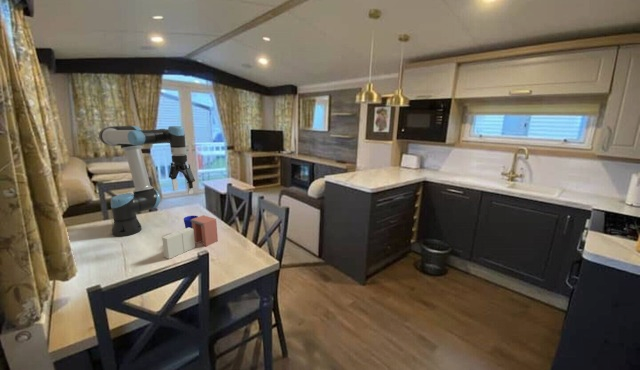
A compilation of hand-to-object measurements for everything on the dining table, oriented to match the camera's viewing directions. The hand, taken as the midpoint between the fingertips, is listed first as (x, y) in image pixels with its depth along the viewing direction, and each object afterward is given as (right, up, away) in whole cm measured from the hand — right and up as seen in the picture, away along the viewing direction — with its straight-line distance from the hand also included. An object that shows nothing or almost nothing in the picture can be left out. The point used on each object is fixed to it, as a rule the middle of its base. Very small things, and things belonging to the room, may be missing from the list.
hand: (183, 192), depth 158 cm
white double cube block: (+3, -32, -9) cm, 34 cm away
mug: (0, -26, +14) cm, 30 cm away
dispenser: (+11, -29, +4) cm, 31 cm away
